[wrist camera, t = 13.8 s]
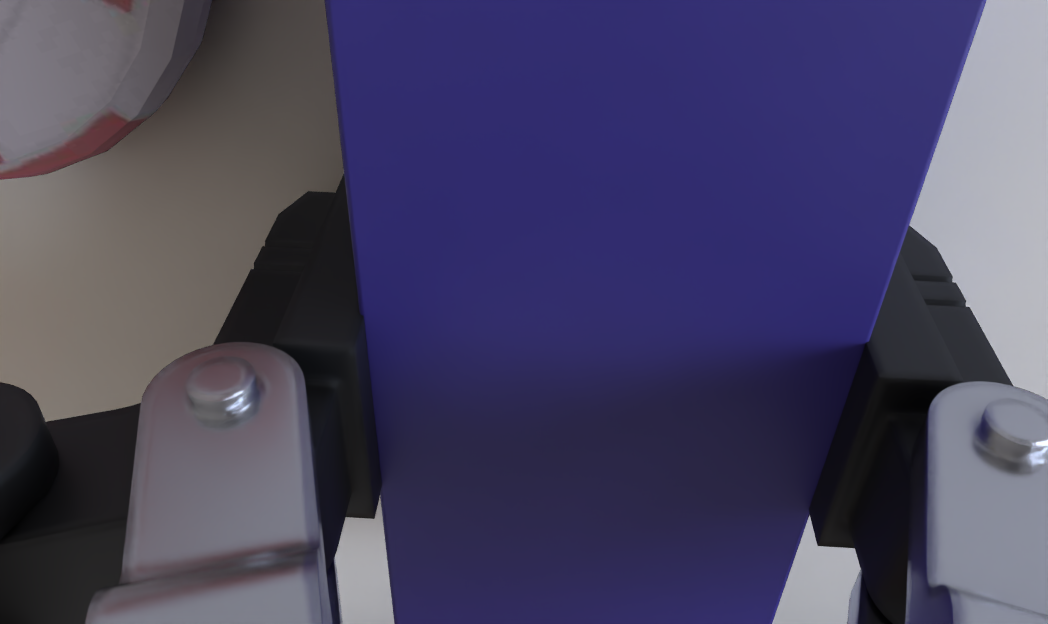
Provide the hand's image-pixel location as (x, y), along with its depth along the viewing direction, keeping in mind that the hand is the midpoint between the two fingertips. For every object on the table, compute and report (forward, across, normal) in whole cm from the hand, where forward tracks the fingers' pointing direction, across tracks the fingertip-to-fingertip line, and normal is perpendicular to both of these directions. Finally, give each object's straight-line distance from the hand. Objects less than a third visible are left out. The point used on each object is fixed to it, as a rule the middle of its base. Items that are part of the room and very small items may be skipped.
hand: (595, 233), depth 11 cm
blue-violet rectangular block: (0, 0, 0) cm, 0 cm away
